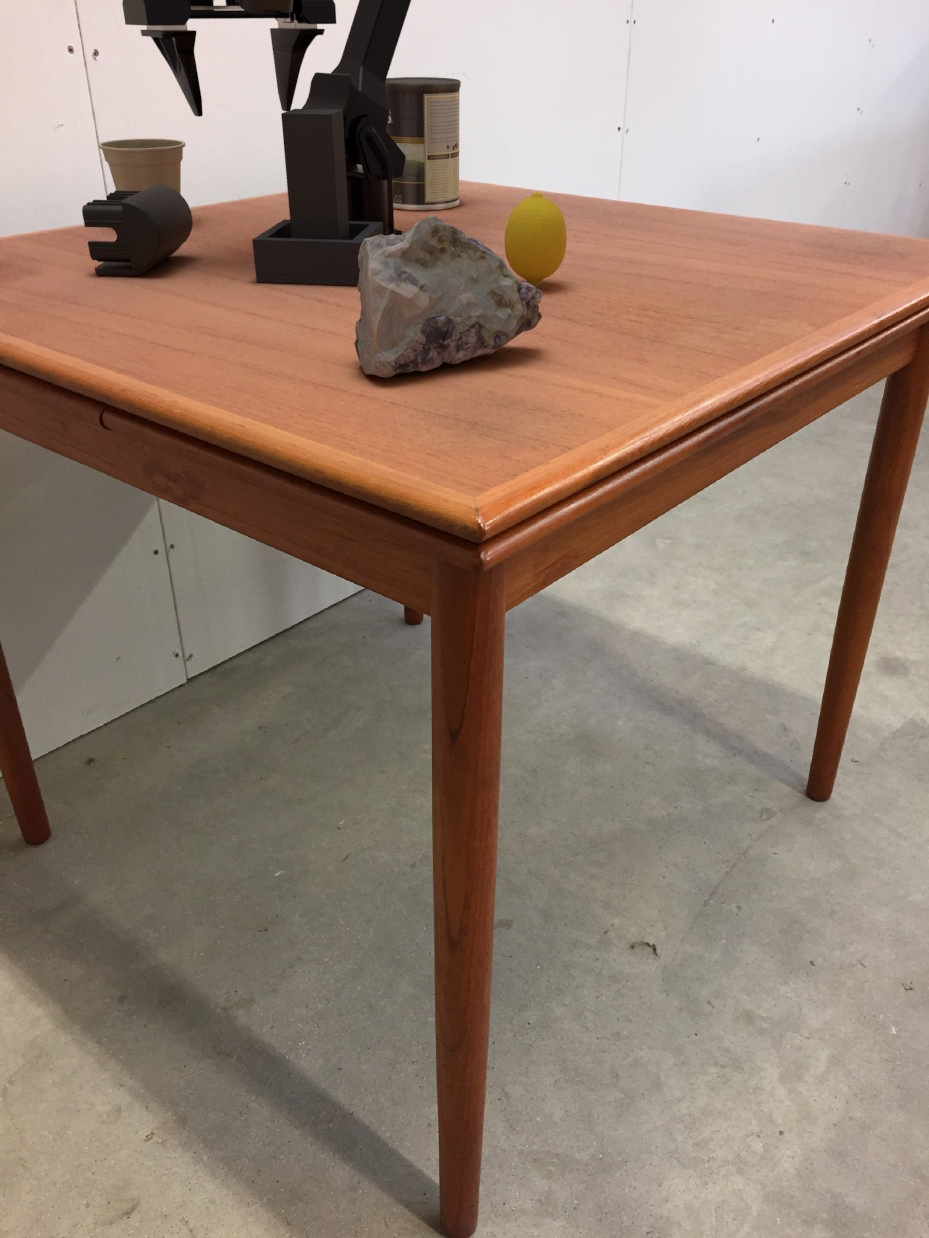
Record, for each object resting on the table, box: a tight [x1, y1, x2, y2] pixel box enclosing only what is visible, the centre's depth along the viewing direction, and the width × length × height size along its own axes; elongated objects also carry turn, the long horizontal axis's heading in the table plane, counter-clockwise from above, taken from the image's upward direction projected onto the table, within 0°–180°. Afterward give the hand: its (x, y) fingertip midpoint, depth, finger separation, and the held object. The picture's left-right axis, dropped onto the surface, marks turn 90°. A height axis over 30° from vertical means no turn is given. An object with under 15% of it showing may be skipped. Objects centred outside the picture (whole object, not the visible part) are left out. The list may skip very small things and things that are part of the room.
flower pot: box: [97, 137, 186, 195], centre depth 114 cm, size 9×9×9 cm
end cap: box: [81, 184, 194, 277], centre depth 97 cm, size 10×7×7 cm
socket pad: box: [251, 218, 383, 287], centre depth 95 cm, size 10×10×4 cm
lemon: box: [504, 191, 568, 287], centre depth 90 cm, size 6×6×8 cm
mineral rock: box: [353, 215, 544, 378], centre depth 69 cm, size 13×11×10 cm
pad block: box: [280, 108, 350, 240], centre depth 93 cm, size 4×4×13 cm
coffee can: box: [385, 76, 462, 212], centre depth 125 cm, size 10×10×14 cm
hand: (243, 113), depth 96 cm, fingers open, 9 cm apart
